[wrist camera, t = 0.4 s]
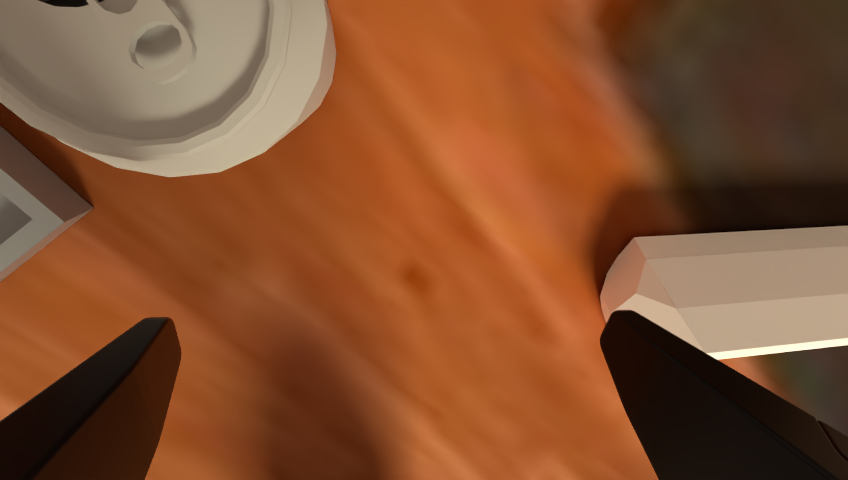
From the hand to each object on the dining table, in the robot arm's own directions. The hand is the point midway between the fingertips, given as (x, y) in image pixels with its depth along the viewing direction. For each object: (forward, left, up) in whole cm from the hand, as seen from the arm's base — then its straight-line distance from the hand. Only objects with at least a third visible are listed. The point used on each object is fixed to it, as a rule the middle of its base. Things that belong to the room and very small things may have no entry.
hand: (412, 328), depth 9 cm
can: (+5, +6, -14) cm, 16 cm away
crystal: (-4, -26, -14) cm, 30 cm away
